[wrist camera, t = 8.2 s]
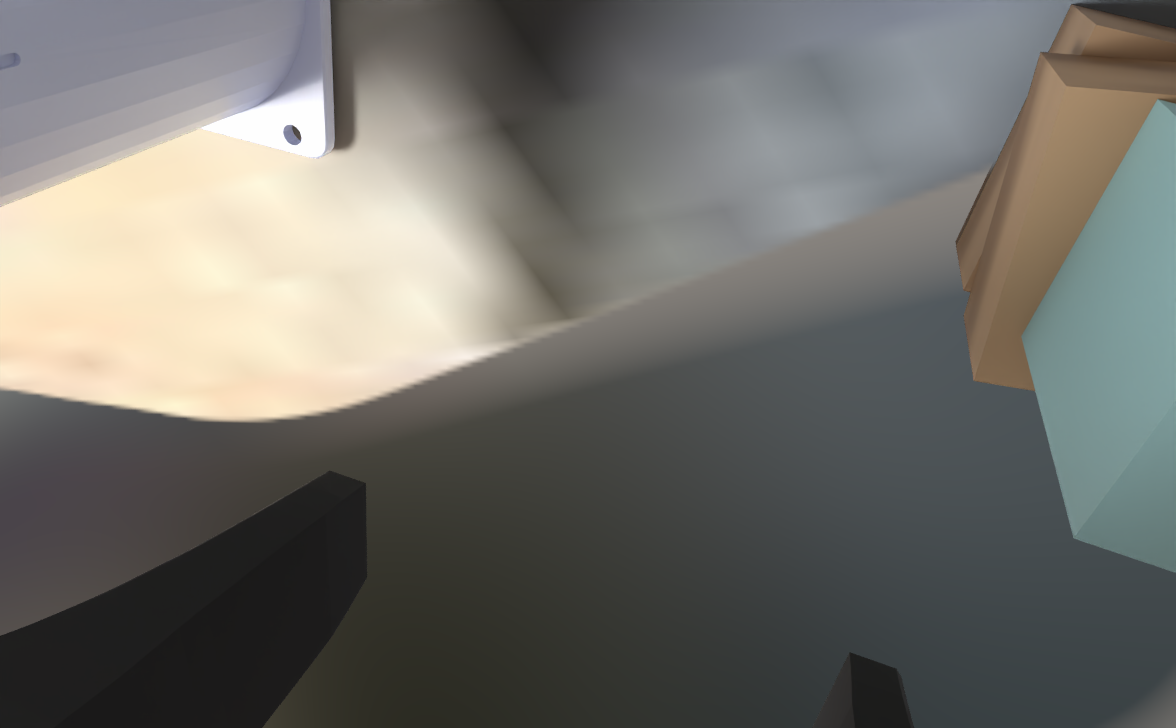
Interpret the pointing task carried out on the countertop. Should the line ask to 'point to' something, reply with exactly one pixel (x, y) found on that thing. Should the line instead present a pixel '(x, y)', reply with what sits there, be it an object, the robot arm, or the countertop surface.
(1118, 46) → the tower base
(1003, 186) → the tower top
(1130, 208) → the teal block
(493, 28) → the countertop surface
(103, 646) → the robot arm
